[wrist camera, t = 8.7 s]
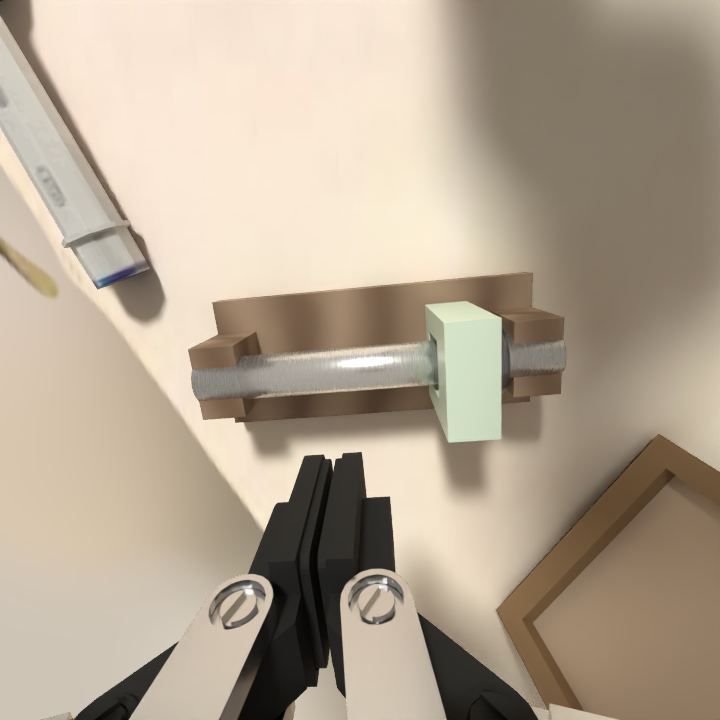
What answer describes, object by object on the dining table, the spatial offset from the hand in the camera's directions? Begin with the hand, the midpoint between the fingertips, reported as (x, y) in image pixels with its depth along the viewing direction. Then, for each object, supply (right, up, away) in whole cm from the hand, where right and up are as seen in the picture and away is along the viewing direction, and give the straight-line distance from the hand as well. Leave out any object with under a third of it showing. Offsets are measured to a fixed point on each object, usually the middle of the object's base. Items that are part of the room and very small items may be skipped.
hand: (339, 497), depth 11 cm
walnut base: (+2, +5, +20) cm, 21 cm away
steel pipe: (+2, +4, +17) cm, 18 cm away
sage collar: (+7, +5, +18) cm, 19 cm away
